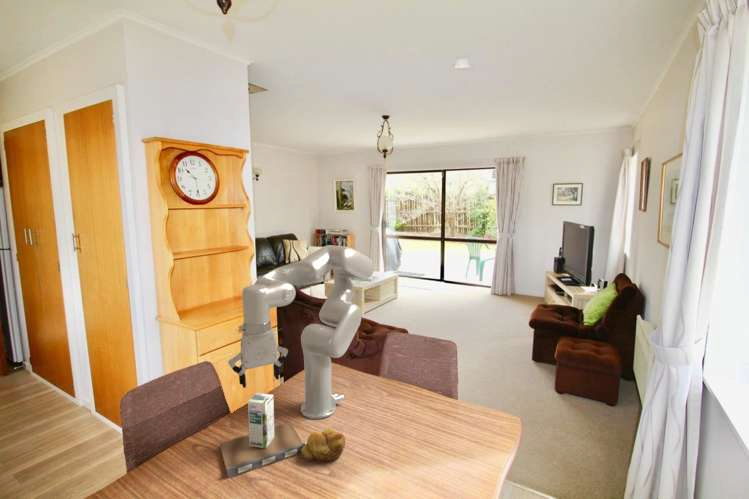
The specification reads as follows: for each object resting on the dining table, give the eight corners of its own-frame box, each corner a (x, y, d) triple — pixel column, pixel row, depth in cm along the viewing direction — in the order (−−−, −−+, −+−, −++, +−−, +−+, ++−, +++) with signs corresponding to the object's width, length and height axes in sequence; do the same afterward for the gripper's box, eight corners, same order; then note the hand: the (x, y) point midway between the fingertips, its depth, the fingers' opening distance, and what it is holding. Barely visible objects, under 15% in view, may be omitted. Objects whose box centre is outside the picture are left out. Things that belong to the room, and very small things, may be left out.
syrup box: (248, 446, 113) (246, 401, 111) (258, 435, 119) (256, 391, 117) (266, 449, 112) (264, 403, 110) (275, 437, 118) (274, 393, 116)
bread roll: (300, 467, 106) (299, 441, 105) (302, 445, 116) (301, 421, 115) (345, 463, 108) (345, 437, 107) (343, 442, 118) (343, 418, 117)
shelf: (290, 426, 126) (290, 419, 125) (305, 452, 113) (305, 445, 112) (219, 447, 115) (219, 439, 115) (228, 478, 102) (227, 470, 101)
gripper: (228, 336, 103) (232, 395, 105) (290, 325, 112) (292, 379, 114) (224, 328, 109) (227, 383, 112) (282, 318, 118) (285, 370, 120)
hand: (260, 381), depth 113 cm, fingers open, 9 cm apart
